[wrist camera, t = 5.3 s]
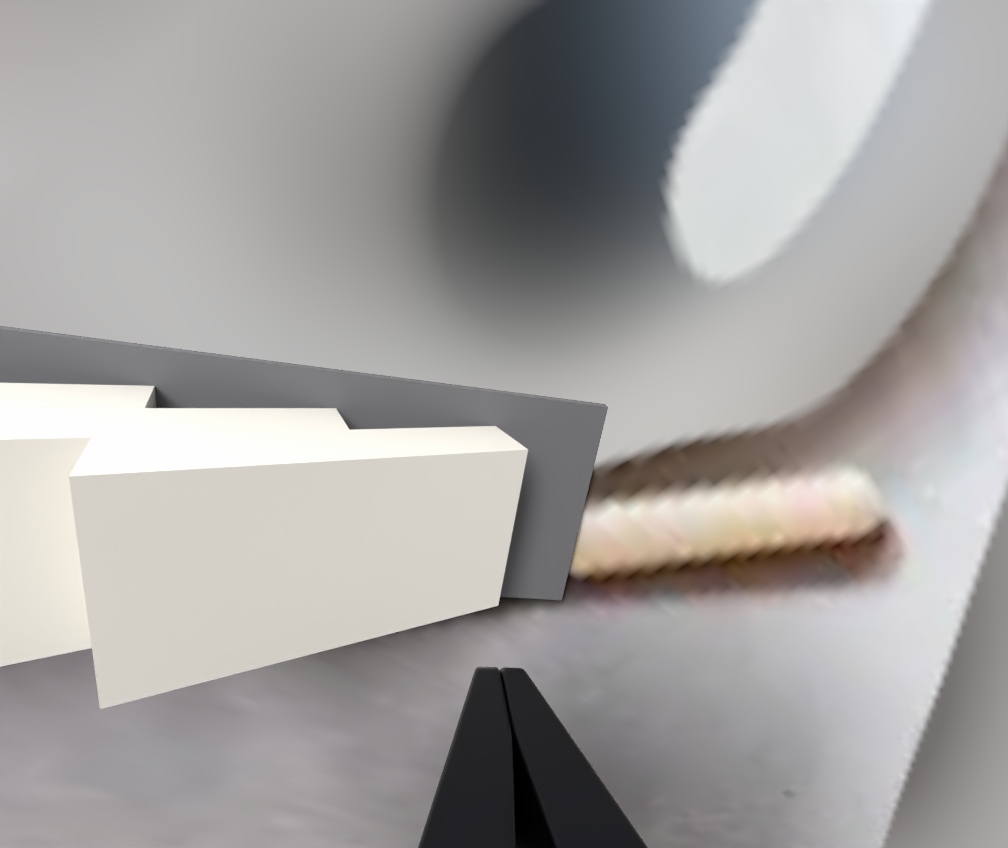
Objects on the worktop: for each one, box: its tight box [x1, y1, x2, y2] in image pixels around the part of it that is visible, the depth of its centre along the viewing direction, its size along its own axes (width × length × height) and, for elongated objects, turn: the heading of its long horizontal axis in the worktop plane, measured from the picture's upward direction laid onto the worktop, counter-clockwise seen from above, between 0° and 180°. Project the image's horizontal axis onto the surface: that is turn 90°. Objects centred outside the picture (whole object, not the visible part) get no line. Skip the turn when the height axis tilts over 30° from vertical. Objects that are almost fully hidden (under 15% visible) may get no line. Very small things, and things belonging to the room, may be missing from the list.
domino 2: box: [69, 426, 528, 709], centre depth 11 cm, size 5×2×9 cm
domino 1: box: [0, 408, 349, 667], centre depth 11 cm, size 5×2×9 cm
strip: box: [0, 326, 608, 600], centre depth 13 cm, size 22×7×1 cm, turn 81°
